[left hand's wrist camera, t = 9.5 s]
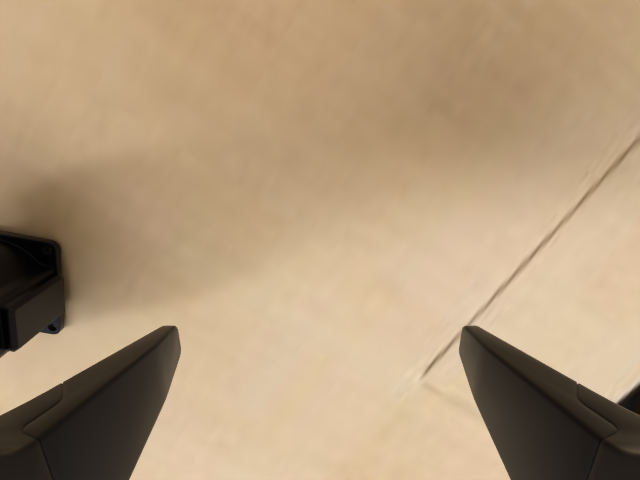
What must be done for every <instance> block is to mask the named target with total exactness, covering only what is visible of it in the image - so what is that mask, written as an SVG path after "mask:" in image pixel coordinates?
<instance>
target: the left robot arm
mask: <svg viewBox="0 0 640 480" xmlns="http://www.w3.org/2000/svg"><path fill="white" fill-rule="evenodd" d="M48 247H50V248H51V250H52V251H50V250H49V249H48ZM64 311H65V306H64V285H63V277H62V270H61V249H60V246H59V244H58V243H57V242H55V241H53V240H49V239H43V238H38V237H32V236H26V235H21V234H15V233H10V232H4V231H0V358H1V357H2V356H3V355H4V354H6V353H7V352H8V351H13V352H15V351H17V350H18V349H19V348H21V347H22V346H23V345H24V344H26V343H27V342H28V341H29V340H30V339H32V338H33V337H34V336H35V335H37V334H38V333H39V332H42V333H49V334H57V333H59V332H60V331H61V330H62V329H63V328H64ZM53 325H55V326H56V327H54V326H53ZM180 354H181V346H180V340H179V333H178V329H177V327H176V326H162V327H160V328H158V329H157V330H155V331H153V332H151V333H149V334H148V335H146V336H144V337H142V338H141V339H139V340H137V341H135V342H134V343H132V344H130V345H128V346H126V347H125V348H123V349H121V350H119V351H118V352H116V353H114V354H112V355H111V356H109V357H107V358H105V359H103V360H102V361H100V362H98V363H96V364H95V365H93V366H91V367H89V368H88V369H86V370H84V371H82V372H80V373H79V374H77V375H75V376H73V377H72V378H70V379H68V380H66V381H64V382H63V384H59V385H57V386H56V387H54V388H52V389H50V390H49V391H47V392H45V393H43V394H41V395H39V396H38V397H36V398H34V399H32V400H30V401H28V402H26V403H24V404H22V405H20V406H18V407H16V408H15V409H13V410H11V411H9V412H7V413H5V414H3V415H1V416H0V480H129V479H130V477H131V475H132V472H133V470H134V468H135V466H136V464H137V461H138V459H139V457H140V455H141V453H142V450H143V448H144V446H145V444H146V442H147V439H148V437H149V435H150V433H151V431H152V429H153V426H154V424H155V422H156V420H157V418H158V415H159V413H160V411H161V409H162V407H163V404H164V402H165V400H166V397H167V394H168V391H169V388H170V385H171V382H172V379H173V376H174V373H175V370H176V367H177V364H178V361H179V357H180ZM459 354H460V357H461V361H462V364H463V367H464V370H465V373H466V376H467V379H468V382H469V385H470V388H471V391H472V394H473V397H474V400H475V402H476V404H477V407H478V409H479V411H480V413H481V415H482V418H483V420H484V422H485V424H486V426H487V429H488V431H489V433H490V435H491V437H492V439H493V442H494V444H495V446H496V448H497V450H498V453H499V455H500V457H501V459H502V461H503V464H504V466H505V468H506V470H507V472H508V475H509V477H510V479H511V480H640V416H639V415H637V414H635V413H633V412H631V411H629V410H627V409H625V408H624V407H622V406H620V405H618V404H616V403H614V402H612V401H610V400H608V399H606V398H604V397H602V396H601V395H599V394H597V393H595V392H593V391H591V390H590V389H588V388H586V387H584V386H583V385H581V384H577V382H576V381H574V380H572V379H570V378H568V377H567V376H565V375H563V374H561V373H560V372H558V371H556V370H554V369H552V368H551V367H549V366H547V365H545V364H544V363H542V362H540V361H538V360H537V359H535V358H533V357H531V356H529V355H528V354H526V353H524V352H522V351H521V350H519V349H517V348H515V347H514V346H512V345H510V344H508V343H506V342H505V341H503V340H501V339H499V338H498V337H496V336H494V335H492V334H490V333H489V332H487V331H485V330H483V329H482V328H480V327H478V326H464V327H463V329H462V333H461V340H460V346H459Z"/></svg>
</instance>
